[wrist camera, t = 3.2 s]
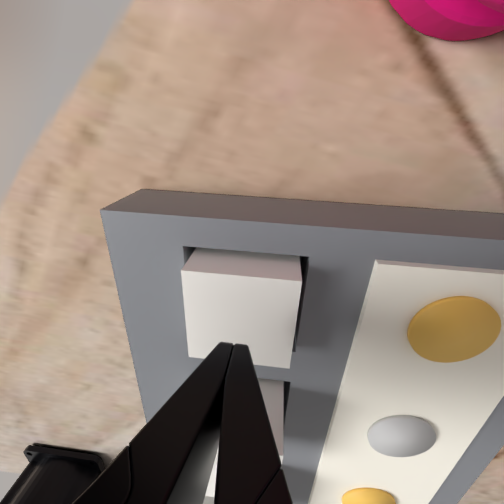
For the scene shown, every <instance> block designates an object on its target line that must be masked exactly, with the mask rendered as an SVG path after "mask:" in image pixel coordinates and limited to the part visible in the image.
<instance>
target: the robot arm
mask: <svg viewBox="0 0 504 504" xmlns="http://www.w3.org/2000/svg"><path fill="white" fill-rule="evenodd" d="M218 446H219V448H218ZM217 450H218V460H217V472H216V484H215V495H214V504H293V501H292V498H291V494H290V491H289V488H288V484H287V481H286V477H285V474H284V470H283V469H282V464H281V460H280V457H279V453H278V449H277V446H276V442H275V439H274V435H273V432H272V428H271V424H270V421H269V417H268V414H267V410H266V407H265V403H264V399H263V396H262V392H261V389H260V385H259V382H258V378H257V375H256V371H255V367H254V364H253V360H252V357H251V353H250V350H249V346H248V345H246V344H238V343H236V344H233V343H229V342H219V343H218V344H217V345H216V347H215V348H214V349H213V350H212V351H211V352H210V353H209V354H208V356H207V357H206V358H205V359H204V360H203V361H202V362H201V363H200V365H199V366H198V367H197V368H196V369H195V370H194V371H193V372H192V373H191V375H190V376H189V377H188V378H187V379H186V380H185V381H184V382H183V384H182V385H181V386H180V387H179V388H178V389H177V390H176V391H175V392H174V394H173V395H172V396H171V397H170V398H169V399H168V400H167V401H166V403H165V404H164V405H163V406H162V407H161V408H160V409H159V410H158V411H157V413H156V414H155V415H154V416H153V417H152V418H151V419H150V420H149V422H148V423H147V424H146V425H145V426H144V427H143V428H142V429H141V431H140V432H139V433H138V434H137V435H136V436H135V437H134V438H133V439H132V441H131V442H130V443H129V446H126V447H125V448H124V449H123V450H122V452H121V453H120V454H119V455H118V456H117V457H116V458H115V459H114V461H113V462H112V463H111V464H110V465H109V466H108V467H107V468H106V469H105V468H104V465H103V463H102V460H101V458H100V457H99V456H97V455H93V454H86V453H79V452H73V451H66V450H59V449H53V448H46V447H39V446H32V445H29V446H28V447H27V448H26V449H25V451H24V454H25V456H26V457H27V459H28V461H29V462H30V463H29V464H28V465H27V467H26V468H25V469H24V471H23V472H22V474H21V475H20V476H19V478H18V479H17V480H16V482H15V483H14V484H13V486H12V487H11V489H10V490H9V491H8V492H7V494H6V495H5V497H4V498H3V499H2V501H1V502H0V504H203V501H204V498H205V494H206V490H207V487H208V483H209V479H210V476H211V472H212V468H213V465H214V461H215V457H216V454H217Z"/></svg>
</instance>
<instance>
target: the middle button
mask: <svg viewBox="0 0 504 504" xmlns="http://www.w3.org/2000/svg"><path fill="white" fill-rule="evenodd" d="M258 382H259V385H260V389H261V392H262V396H263V399H264V403H265V407H266V410H267V414H268V417H269V421H270V424H271V428H272V432H273V435H274V439H275V442H276V446H277V449H278V453H279V457H280V460H281V464H282V461H283V399H284V381H279V380H271V379H262V378H258ZM218 448H219V446H218ZM217 460H218V450H217V454H216V457H215V461H214V465H213V468H212V472H211V476H210V479H209V483H208V487H207V490H206V494H205V496H209V497H214V495H215V484H216V472H217Z"/></svg>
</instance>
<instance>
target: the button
mask: <svg viewBox="0 0 504 504" xmlns="http://www.w3.org/2000/svg"><path fill="white" fill-rule="evenodd" d="M181 277H182V288H183V300H184V311H185V322H186V333H187V344H188V355H189V357H193V358H202V359H205V358H206V357H207V356H208V354H209V353H210V352H211V351H212V350H213V349H214V348H215V347H216V345H217V344H218V343H219V342H229V343H233V344H236V343H238V344H246V345H248V346H249V350H250V353H251V357H252V360H253V364H254V365H262V366H270V367H279V368H288V369H290V362H291V355H292V348H293V341H294V334H295V327H296V321H297V314H298V307H299V300H300V293H301V286H302V275H301V266H300V256H296V255H284V254H272V253H260V252H248V251H236V250H224V249H212V248H200V247H196V249H195V250H194V252H193V253H192V255H191V256H190V258H189V259H188V261H187V262H186V264H185V265H184V267H183V268H182V269H181Z"/></svg>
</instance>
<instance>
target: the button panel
mask: <svg viewBox="0 0 504 504" xmlns="http://www.w3.org/2000/svg"><path fill="white" fill-rule="evenodd" d="M100 213H101V218H102V222H103V227H104V231H105V236H106V240H107V245H108V250H109V254H110V259H111V263H112V268H113V272H114V277H115V281H116V286H117V290H118V295H119V300H120V304H121V309H122V313H123V318H124V322H125V327H126V331H127V336H128V340H129V345H130V350H131V354H132V359H133V363H134V368H135V372H136V377H137V381H138V386H139V390H140V395H141V400H142V404H143V409H144V413H145V418H146V422H147V423H148V422H149V420H150V419H151V418H152V417H153V416H154V415H155V414H156V413H157V411H158V410H159V409H160V408H161V407H162V406H163V405H164V404H165V403H166V401H167V400H168V399H169V398H170V397H171V396H172V395H173V394H174V392H175V391H176V390H177V389H178V388H179V387H180V386H181V385H182V384H183V382H184V381H185V380H186V379H187V378H188V377H189V376H190V375H191V373H192V372H193V371H194V370H195V369H196V368H197V367H198V366H199V365H200V363H201V362H202V361H203V360H204V359H202V358H193V357H189V355H188V344H187V333H186V322H185V311H184V300H183V288H182V277H181V269H182V268H183V267H184V265H185V264H186V262H187V261H188V259H189V258H190V256H191V255H192V253H193V252H194V250H195V249H196V247H200V248H212V249H224V250H236V251H248V252H260V253H272V254H284V255H296V256H300V266H301V275H302V286H301V293H300V300H299V307H298V314H297V321H296V327H295V334H294V341H293V348H292V355H291V362H290V369H288V368H279V367H270V366H262V365H254V367H255V371H256V375H257V378H262V379H271V380H279V381H284V399H283V461H282V469H283V470H284V474H285V477H286V481H287V484H288V488H289V491H290V494H291V498H292V501H293V504H457V503H458V502H459V501H460V499H461V498H462V497H463V495H464V494H465V493H466V492H467V490H468V489H469V488H470V487H471V485H472V484H473V483H474V482H475V480H476V479H477V478H478V477H479V475H480V474H481V473H482V472H483V470H484V469H485V468H486V467H487V465H488V464H489V463H490V462H491V460H492V459H493V458H494V457H495V455H496V454H497V453H498V452H499V450H500V449H501V448H502V446H503V445H504V214H501V213H486V212H471V211H456V210H442V209H427V208H412V207H398V206H383V205H368V204H354V203H339V202H324V201H309V200H295V199H280V198H265V197H251V196H236V195H221V194H207V193H192V192H177V191H163V190H148V189H141V190H139V191H137V192H135V193H133V194H131V195H129V196H127V197H125V198H123V199H121V200H119V201H117V202H115V203H113V204H111V205H109V206H107V207H105V208H103V209H101V210H100Z"/></svg>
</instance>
